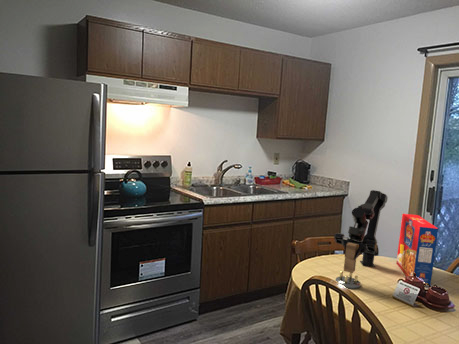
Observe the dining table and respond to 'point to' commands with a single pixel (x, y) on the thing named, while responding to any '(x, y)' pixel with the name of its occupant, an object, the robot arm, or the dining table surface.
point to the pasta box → (417, 247)
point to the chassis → (348, 281)
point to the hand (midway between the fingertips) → (349, 257)
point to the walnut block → (350, 257)
